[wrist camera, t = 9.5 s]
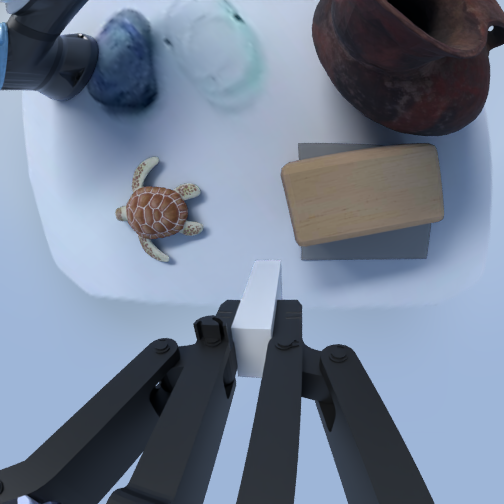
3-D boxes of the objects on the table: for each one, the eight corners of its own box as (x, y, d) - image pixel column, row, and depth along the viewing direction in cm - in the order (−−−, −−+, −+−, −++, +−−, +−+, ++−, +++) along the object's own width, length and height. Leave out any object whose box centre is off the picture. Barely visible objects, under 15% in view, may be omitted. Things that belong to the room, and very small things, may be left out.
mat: (298, 143, 37) (298, 143, 37) (433, 150, 33) (434, 150, 33) (301, 259, 43) (301, 259, 43) (425, 257, 40) (426, 258, 39)
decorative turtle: (116, 162, 43) (99, 165, 38) (201, 151, 40) (189, 152, 36) (129, 257, 49) (115, 267, 45) (209, 260, 47) (199, 272, 42)
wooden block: (297, 228, 41) (417, 206, 37) (297, 251, 32) (447, 222, 28) (282, 163, 38) (408, 143, 34) (278, 167, 29) (438, 142, 24)
